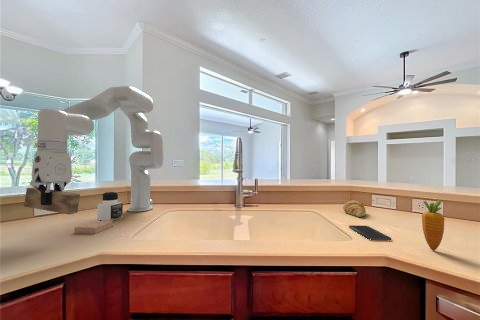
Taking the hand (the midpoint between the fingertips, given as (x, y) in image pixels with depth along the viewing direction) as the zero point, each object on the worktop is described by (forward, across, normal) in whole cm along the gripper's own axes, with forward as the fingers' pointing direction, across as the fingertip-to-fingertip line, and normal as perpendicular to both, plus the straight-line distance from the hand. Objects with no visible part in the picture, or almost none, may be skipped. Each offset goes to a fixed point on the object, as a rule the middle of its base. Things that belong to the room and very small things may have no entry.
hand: (51, 203), depth 71 cm
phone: (+12, +18, -108) cm, 110 cm away
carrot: (+12, +3, -119) cm, 120 cm away
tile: (+11, +12, -2) cm, 16 cm away
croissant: (+12, +51, -117) cm, 128 cm away
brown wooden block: (+2, 0, 0) cm, 2 cm away
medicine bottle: (+12, +27, -1) cm, 30 cm away
